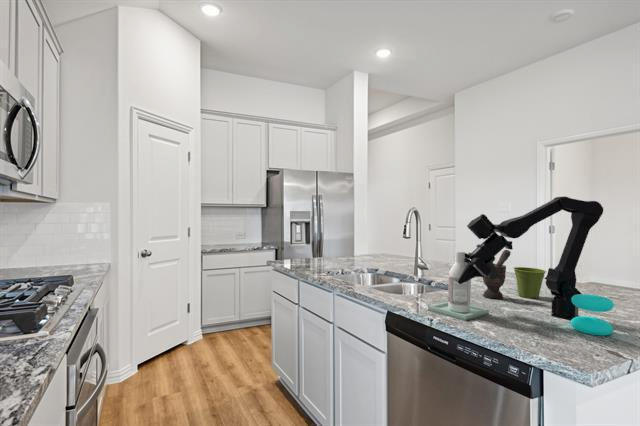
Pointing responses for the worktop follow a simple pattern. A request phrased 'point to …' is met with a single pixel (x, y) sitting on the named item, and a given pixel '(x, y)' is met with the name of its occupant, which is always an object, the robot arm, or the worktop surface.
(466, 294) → the bath foam
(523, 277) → the plant pot
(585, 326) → the donuts
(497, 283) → the mortar and pestle
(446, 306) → the tray
